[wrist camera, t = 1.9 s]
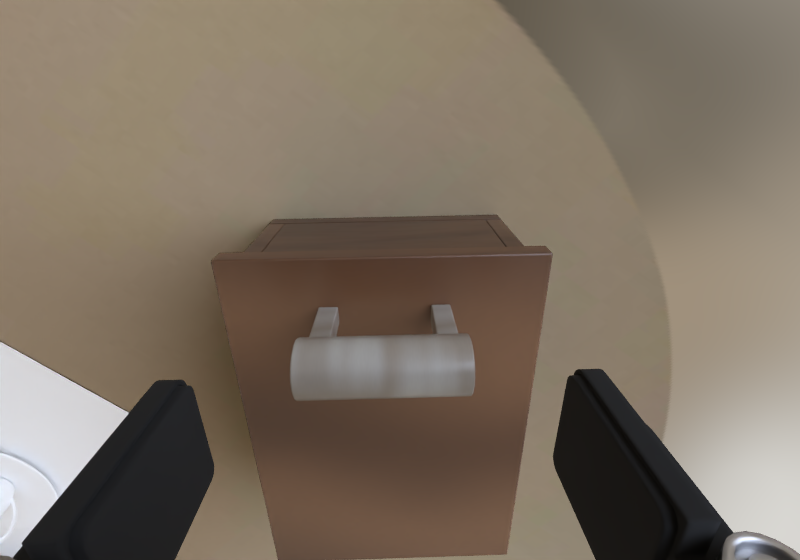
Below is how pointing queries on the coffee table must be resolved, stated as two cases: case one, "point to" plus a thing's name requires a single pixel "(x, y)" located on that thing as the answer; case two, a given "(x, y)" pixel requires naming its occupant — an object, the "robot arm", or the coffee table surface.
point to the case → (384, 233)
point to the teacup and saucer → (3, 507)
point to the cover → (386, 393)
